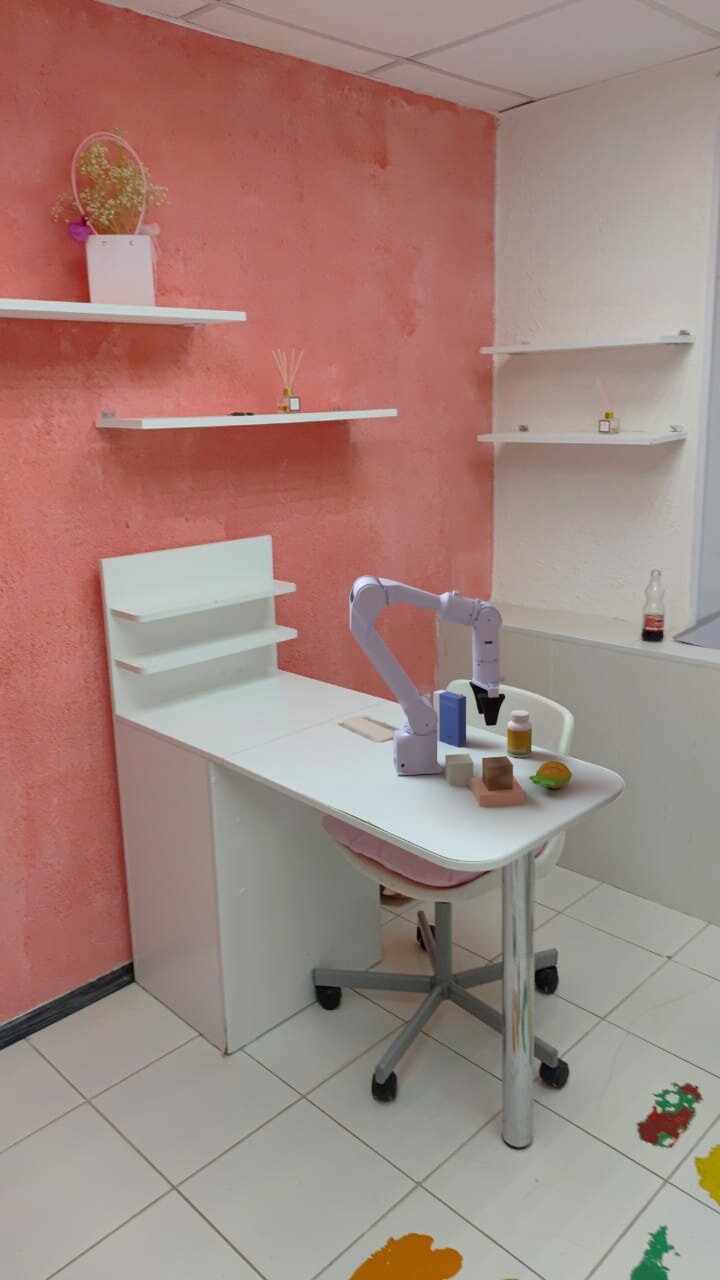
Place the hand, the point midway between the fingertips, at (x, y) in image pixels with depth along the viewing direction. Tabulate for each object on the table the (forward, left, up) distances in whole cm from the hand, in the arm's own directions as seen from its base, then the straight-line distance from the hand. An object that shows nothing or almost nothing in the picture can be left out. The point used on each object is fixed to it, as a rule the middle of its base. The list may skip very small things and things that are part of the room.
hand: (487, 719), depth 208 cm
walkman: (-6, +15, -11) cm, 19 cm away
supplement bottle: (+8, +5, -11) cm, 14 cm away
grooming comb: (-23, +27, -11) cm, 37 cm away
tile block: (-2, -17, -11) cm, 20 cm away
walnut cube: (-2, -17, -8) cm, 19 cm away
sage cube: (-8, -8, -11) cm, 15 cm away
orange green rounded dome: (+10, -15, -11) cm, 21 cm away
